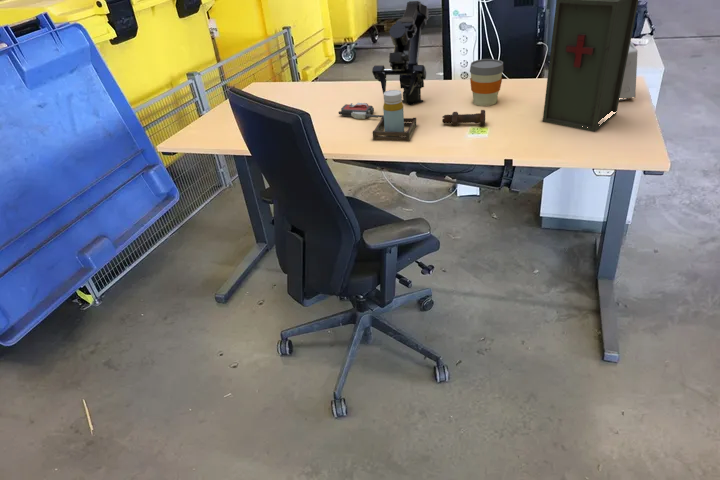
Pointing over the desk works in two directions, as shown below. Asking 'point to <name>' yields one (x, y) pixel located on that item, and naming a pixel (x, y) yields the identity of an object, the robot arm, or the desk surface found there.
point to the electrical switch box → (630, 74)
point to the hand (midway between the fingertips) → (396, 94)
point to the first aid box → (587, 61)
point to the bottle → (393, 111)
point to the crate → (395, 136)
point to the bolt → (465, 118)
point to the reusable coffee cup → (486, 81)
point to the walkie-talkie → (358, 111)
